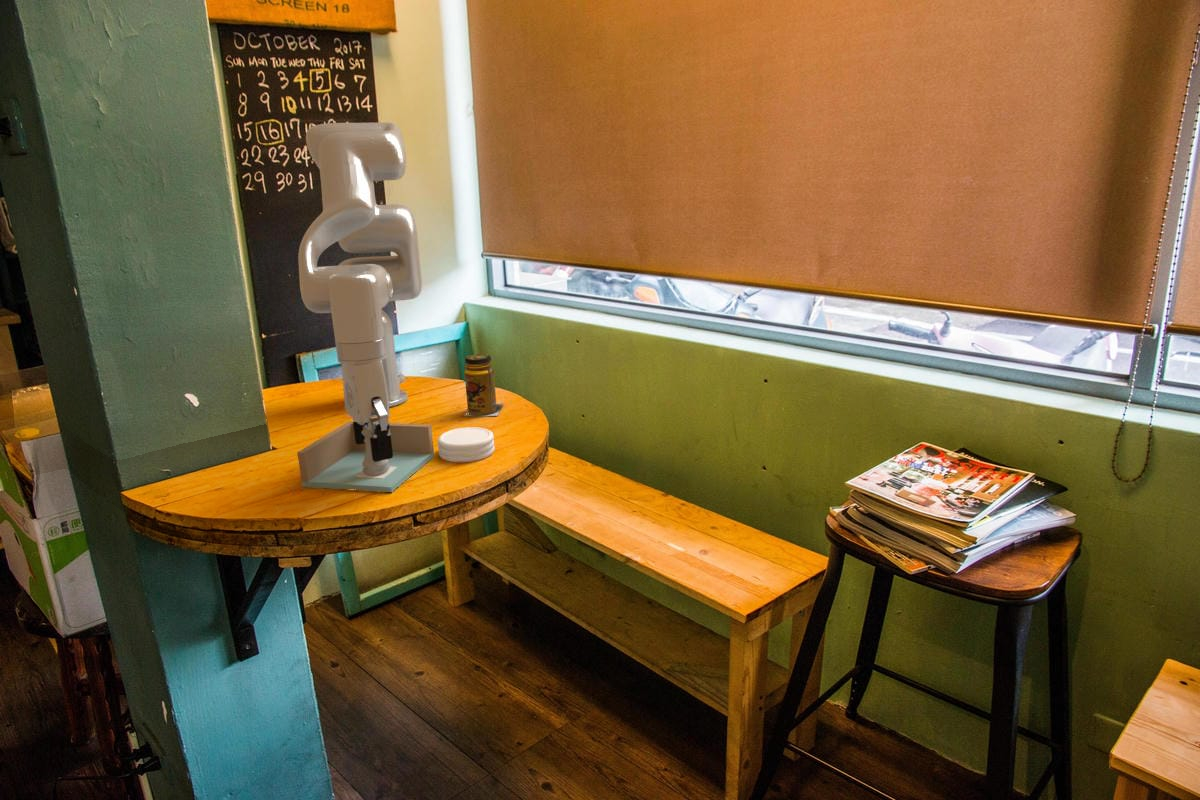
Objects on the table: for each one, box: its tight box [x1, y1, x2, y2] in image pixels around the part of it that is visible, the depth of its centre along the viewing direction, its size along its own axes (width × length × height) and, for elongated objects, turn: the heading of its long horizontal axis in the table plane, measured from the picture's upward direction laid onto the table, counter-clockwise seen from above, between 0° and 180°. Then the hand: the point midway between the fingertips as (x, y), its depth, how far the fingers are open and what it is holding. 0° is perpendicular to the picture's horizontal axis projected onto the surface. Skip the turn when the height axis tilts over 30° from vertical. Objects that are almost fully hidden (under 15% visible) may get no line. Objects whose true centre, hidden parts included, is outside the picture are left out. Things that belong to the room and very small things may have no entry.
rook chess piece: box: [361, 424, 390, 475], centre depth 129 cm, size 4×4×8 cm
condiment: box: [463, 353, 505, 417], centre depth 162 cm, size 7×8×12 cm
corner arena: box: [296, 420, 435, 493], centre depth 132 cm, size 16×16×6 cm
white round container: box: [437, 426, 496, 463], centre depth 140 cm, size 10×10×4 cm
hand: (374, 450), depth 128 cm, fingers open, 9 cm apart
